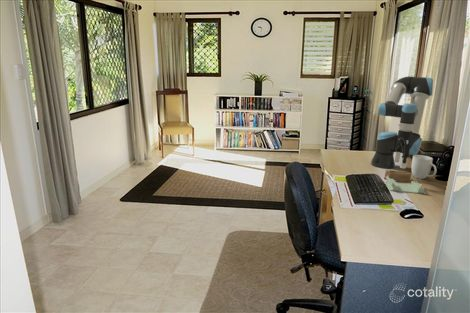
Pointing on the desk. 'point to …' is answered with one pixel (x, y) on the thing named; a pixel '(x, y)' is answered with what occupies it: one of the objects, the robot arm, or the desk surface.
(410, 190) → the carcass
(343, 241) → the desk surface
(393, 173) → the door
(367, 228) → the desk surface
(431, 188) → the desk surface
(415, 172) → the mug
